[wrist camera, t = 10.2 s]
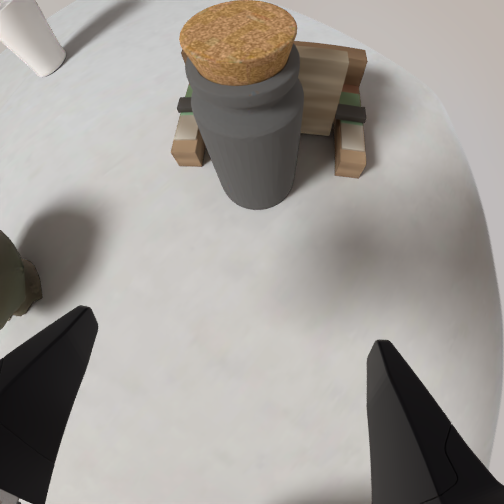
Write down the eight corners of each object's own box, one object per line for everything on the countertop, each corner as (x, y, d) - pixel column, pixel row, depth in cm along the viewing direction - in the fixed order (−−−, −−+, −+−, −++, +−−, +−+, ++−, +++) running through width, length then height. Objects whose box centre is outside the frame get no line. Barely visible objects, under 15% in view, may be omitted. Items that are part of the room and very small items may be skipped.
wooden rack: (358, 178, 23) (379, 141, 18) (179, 166, 25) (156, 128, 19) (352, 92, 25) (365, 50, 19) (199, 84, 27) (185, 42, 21)
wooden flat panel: (357, 139, 24) (386, 70, 15) (186, 129, 25) (154, 60, 16) (356, 128, 24) (383, 58, 15) (189, 118, 25) (159, 49, 17)
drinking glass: (79, 46, 30) (34, -21, 16) (55, 80, 29) (-1, 13, 15) (51, 52, 31) (7, -5, 17) (28, 84, 30) (-24, 28, 15)
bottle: (209, 166, 25) (148, 24, 10) (270, 135, 25) (264, -16, 10) (242, 224, 23) (197, 96, 9) (307, 189, 24) (342, 42, 9)
